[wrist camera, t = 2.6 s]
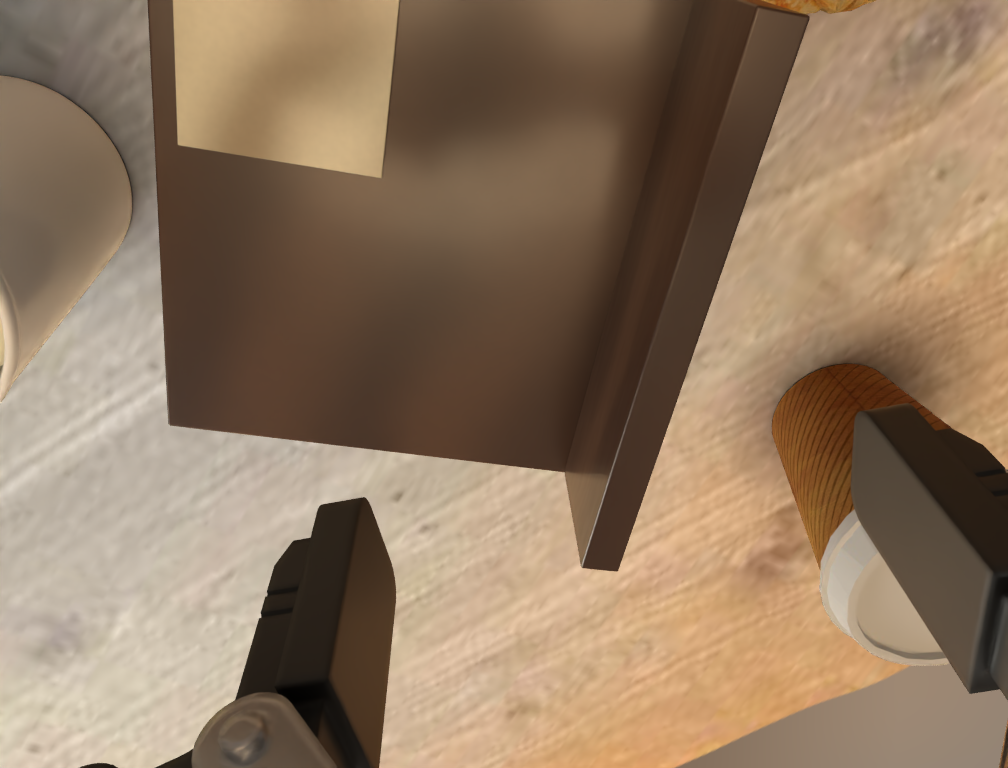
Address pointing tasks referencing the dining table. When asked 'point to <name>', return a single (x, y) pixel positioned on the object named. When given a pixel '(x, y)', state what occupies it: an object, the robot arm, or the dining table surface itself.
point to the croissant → (820, 5)
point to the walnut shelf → (456, 222)
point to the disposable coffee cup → (848, 509)
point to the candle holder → (51, 215)
